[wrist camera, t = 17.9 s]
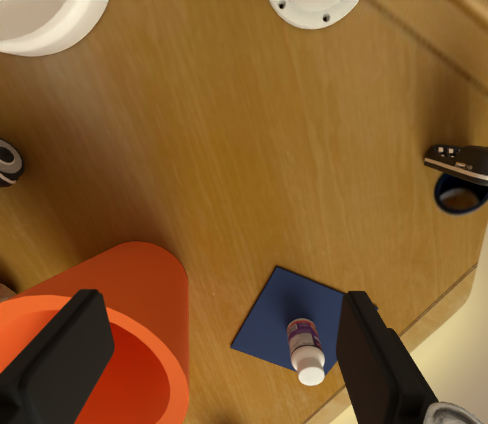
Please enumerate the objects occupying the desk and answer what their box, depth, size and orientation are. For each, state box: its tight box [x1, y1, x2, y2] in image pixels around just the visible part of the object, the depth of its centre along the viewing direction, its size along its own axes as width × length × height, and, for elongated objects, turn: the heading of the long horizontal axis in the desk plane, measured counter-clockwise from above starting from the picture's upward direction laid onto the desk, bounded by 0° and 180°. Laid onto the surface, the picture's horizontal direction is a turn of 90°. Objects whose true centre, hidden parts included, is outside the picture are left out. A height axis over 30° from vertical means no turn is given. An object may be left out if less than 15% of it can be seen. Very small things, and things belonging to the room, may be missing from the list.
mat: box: [230, 266, 378, 377], centre depth 52 cm, size 20×20×1 cm
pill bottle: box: [287, 318, 325, 386], centre depth 47 cm, size 5×5×10 cm
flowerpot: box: [0, 241, 189, 424], centre depth 40 cm, size 25×25×20 cm
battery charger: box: [424, 145, 488, 186], centre depth 34 cm, size 7×4×11 cm, turn 83°
